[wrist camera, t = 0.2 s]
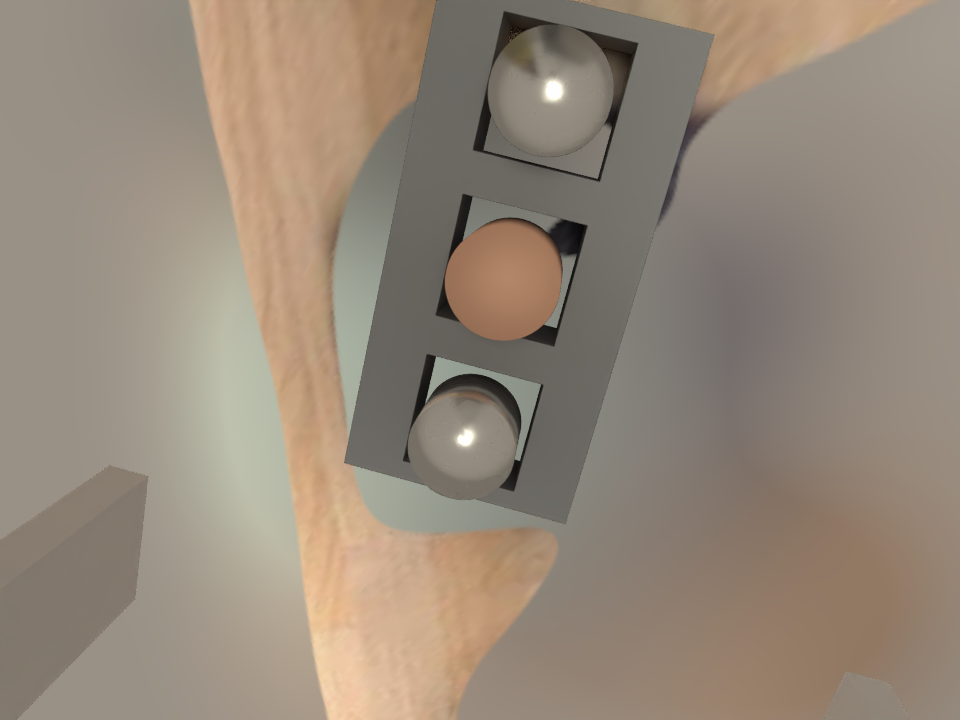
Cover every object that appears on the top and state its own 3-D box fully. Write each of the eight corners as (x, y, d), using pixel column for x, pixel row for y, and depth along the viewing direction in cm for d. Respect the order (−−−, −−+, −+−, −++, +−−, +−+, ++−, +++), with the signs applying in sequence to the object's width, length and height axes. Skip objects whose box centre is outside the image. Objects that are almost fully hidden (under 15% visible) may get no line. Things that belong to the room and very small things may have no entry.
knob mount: (456, -11, 36) (442, -30, 32) (700, 47, 35) (714, 34, 32) (364, 435, 43) (344, 462, 39) (566, 490, 42) (565, 524, 39)
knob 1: (436, 362, 38) (420, 386, 34) (532, 388, 37) (526, 415, 34) (415, 451, 39) (398, 483, 35) (508, 476, 39) (500, 512, 35)
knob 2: (513, 27, 33) (504, 11, 29) (623, 53, 33) (629, 40, 29) (486, 142, 34) (475, 140, 31) (592, 168, 34) (593, 170, 30)
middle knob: (472, 206, 35) (459, 212, 31) (574, 232, 35) (574, 242, 31) (448, 306, 37) (434, 324, 33) (547, 332, 36) (543, 353, 33)
